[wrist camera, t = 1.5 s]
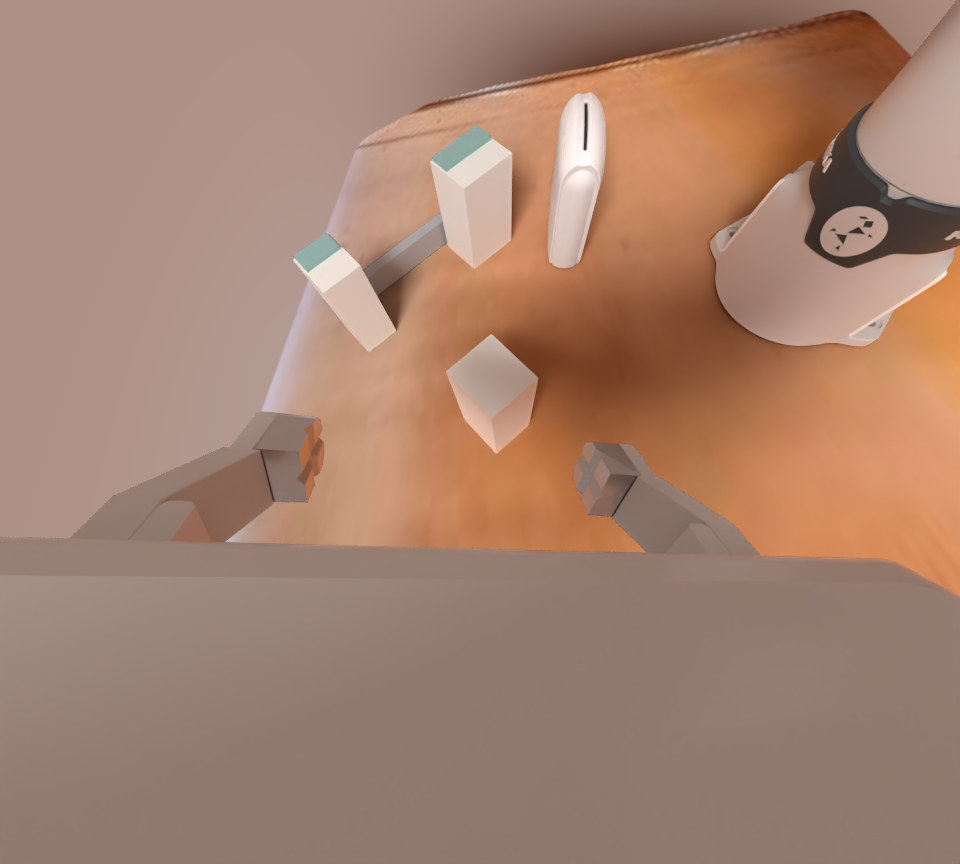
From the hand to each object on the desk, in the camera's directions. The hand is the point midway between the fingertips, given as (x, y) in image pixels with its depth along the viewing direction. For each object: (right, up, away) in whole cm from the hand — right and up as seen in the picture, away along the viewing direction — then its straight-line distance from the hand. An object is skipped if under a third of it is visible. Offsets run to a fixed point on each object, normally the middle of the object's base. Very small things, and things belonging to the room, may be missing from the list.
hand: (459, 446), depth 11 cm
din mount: (-6, +19, +30) cm, 36 cm away
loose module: (+2, +1, +24) cm, 25 cm away
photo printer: (+11, +24, +31) cm, 41 cm away
